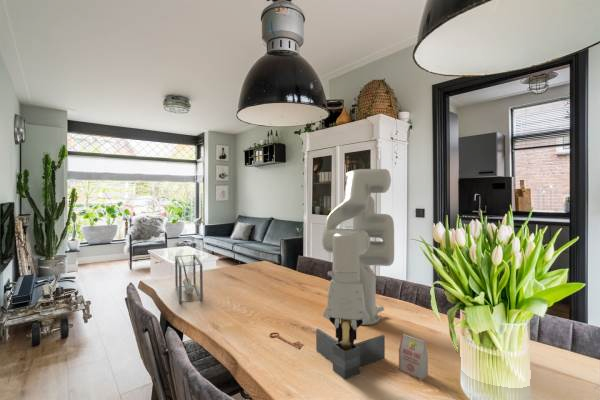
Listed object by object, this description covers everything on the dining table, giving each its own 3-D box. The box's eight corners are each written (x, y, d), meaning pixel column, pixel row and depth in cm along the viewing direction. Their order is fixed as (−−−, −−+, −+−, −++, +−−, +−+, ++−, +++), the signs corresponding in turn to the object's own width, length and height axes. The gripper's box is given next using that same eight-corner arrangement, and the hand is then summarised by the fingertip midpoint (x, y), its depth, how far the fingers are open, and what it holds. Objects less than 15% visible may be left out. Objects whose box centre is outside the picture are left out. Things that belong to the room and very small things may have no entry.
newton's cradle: (202, 301, 150) (202, 264, 149) (179, 304, 145) (178, 266, 145) (195, 284, 177) (195, 253, 177) (175, 287, 173) (175, 254, 172)
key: (308, 347, 106) (279, 332, 117) (308, 344, 106) (280, 329, 117) (295, 351, 102) (267, 335, 113) (295, 348, 102) (267, 333, 113)
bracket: (352, 339, 110) (352, 317, 109) (390, 361, 95) (390, 337, 94) (310, 352, 101) (310, 328, 101) (344, 379, 86) (344, 352, 86)
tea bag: (405, 365, 93) (405, 331, 93) (427, 375, 88) (428, 339, 88) (398, 370, 90) (398, 335, 90) (421, 380, 85) (421, 343, 85)
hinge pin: (347, 355, 92) (347, 307, 92) (356, 361, 88) (356, 312, 88) (336, 359, 90) (336, 310, 90) (345, 365, 86) (344, 314, 86)
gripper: (314, 278, 87) (315, 344, 88) (375, 281, 83) (375, 350, 84) (319, 271, 95) (320, 332, 95) (375, 274, 91) (376, 338, 91)
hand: (346, 340), depth 89 cm, fingers closed on hinge pin, 3 cm apart
